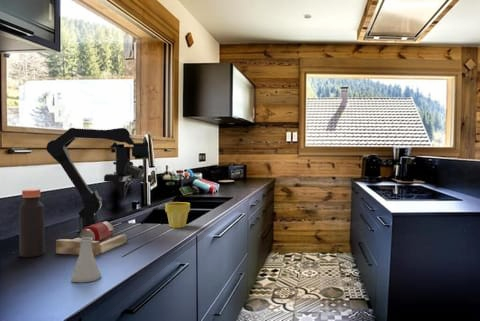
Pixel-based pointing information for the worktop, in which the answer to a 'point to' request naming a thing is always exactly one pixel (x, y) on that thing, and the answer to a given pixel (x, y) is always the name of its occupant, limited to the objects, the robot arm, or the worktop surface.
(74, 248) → the rest
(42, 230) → the bottle
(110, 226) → the soda can
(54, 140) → the robot arm
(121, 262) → the worktop surface
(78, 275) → the flask
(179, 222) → the plant pot
